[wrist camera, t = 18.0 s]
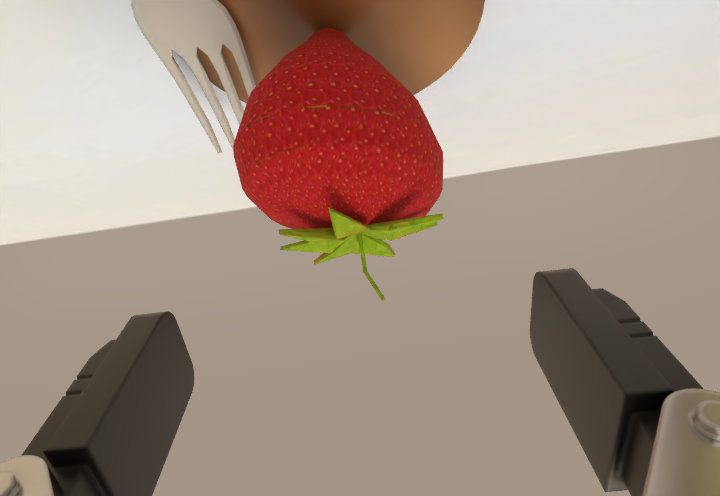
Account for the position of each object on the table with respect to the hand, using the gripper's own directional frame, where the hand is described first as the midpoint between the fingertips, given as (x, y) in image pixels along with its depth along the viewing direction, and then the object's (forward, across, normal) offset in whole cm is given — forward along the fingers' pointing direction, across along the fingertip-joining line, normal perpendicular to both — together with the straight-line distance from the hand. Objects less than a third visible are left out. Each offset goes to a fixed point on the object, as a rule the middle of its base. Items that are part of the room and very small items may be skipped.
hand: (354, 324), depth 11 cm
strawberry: (+10, 0, -6) cm, 12 cm away
